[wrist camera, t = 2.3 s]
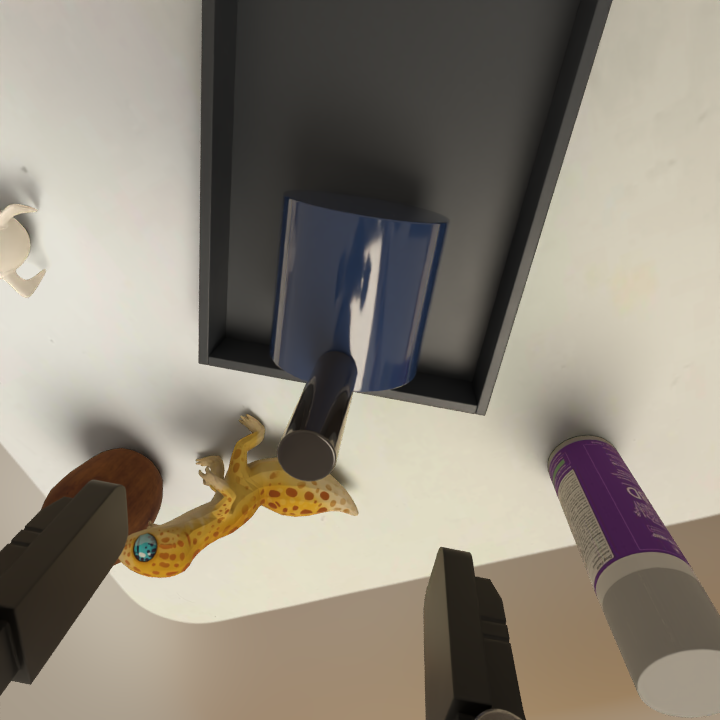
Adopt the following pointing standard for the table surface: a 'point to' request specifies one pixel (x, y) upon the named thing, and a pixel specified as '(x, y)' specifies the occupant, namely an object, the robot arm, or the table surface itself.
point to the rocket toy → (16, 250)
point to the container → (640, 580)
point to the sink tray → (388, 155)
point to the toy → (230, 507)
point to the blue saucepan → (348, 310)
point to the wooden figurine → (122, 470)
